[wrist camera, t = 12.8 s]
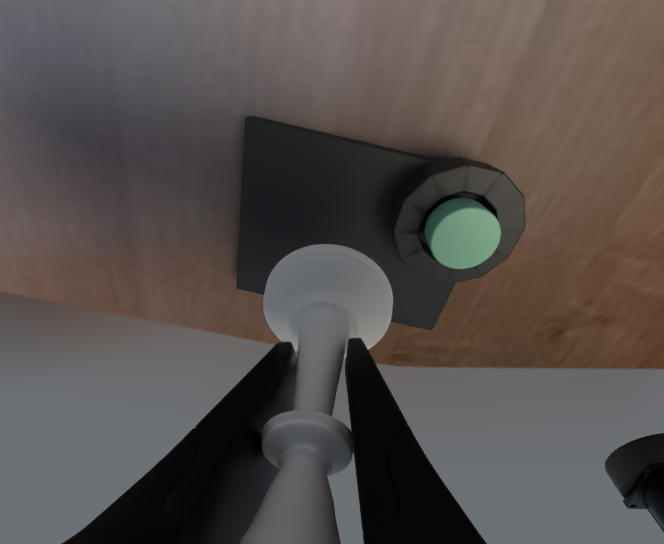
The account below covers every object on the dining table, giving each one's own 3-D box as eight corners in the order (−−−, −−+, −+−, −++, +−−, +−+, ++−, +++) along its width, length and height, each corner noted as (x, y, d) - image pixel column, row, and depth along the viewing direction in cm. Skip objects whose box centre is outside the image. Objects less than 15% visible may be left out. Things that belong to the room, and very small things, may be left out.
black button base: (519, 169, 16) (552, 183, 13) (441, 322, 21) (453, 353, 18) (253, 106, 15) (231, 107, 12) (242, 279, 20) (225, 305, 18)
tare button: (499, 204, 14) (515, 216, 13) (471, 260, 15) (482, 275, 14) (437, 190, 14) (446, 200, 12) (415, 247, 15) (420, 262, 14)
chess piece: (307, 216, 10) (-21, 965, 1) (420, 290, 11) (650, 970, 2) (244, 311, 12) (-36, 829, 3) (343, 366, 13) (318, 864, 5)
